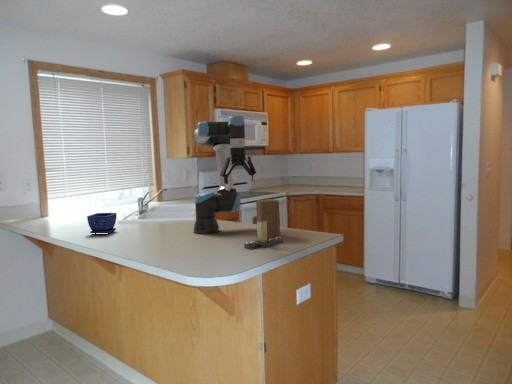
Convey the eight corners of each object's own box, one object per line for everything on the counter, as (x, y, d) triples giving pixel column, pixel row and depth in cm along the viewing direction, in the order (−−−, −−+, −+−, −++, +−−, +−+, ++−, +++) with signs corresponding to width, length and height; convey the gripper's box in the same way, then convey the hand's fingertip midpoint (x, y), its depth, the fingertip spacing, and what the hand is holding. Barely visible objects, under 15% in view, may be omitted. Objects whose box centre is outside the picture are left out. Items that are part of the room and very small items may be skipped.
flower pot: (118, 231, 243) (117, 212, 242) (108, 235, 230) (107, 215, 229) (98, 231, 244) (97, 212, 243) (87, 235, 231) (85, 216, 230)
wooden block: (262, 239, 203) (261, 201, 201) (257, 235, 213) (255, 199, 211) (280, 237, 206) (279, 200, 204) (274, 234, 215) (273, 198, 213)
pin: (257, 245, 190) (256, 221, 189) (263, 244, 192) (262, 220, 191) (261, 246, 187) (260, 222, 186) (267, 245, 189) (266, 221, 188)
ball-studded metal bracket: (242, 247, 187) (241, 242, 187) (276, 240, 199) (275, 235, 199) (250, 250, 181) (250, 244, 181) (285, 243, 193) (285, 237, 193)
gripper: (220, 147, 184) (222, 192, 187) (262, 146, 199) (263, 187, 201) (212, 148, 190) (214, 190, 193) (253, 146, 205) (254, 186, 207)
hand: (239, 189), depth 197 cm, fingers open, 13 cm apart
